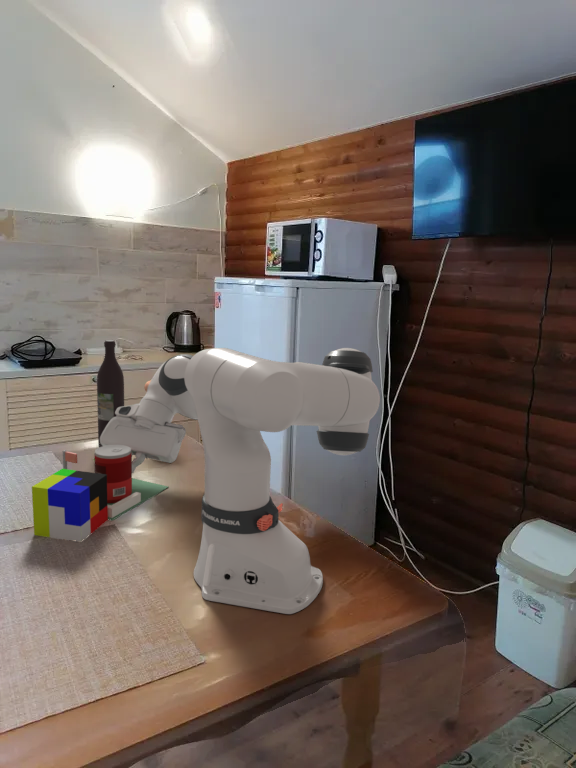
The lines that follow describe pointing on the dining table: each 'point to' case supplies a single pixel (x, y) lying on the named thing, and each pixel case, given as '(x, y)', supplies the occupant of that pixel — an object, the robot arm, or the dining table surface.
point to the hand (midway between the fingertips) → (125, 470)
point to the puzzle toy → (70, 504)
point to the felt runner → (142, 492)
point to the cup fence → (112, 509)
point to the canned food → (115, 470)
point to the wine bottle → (109, 388)
